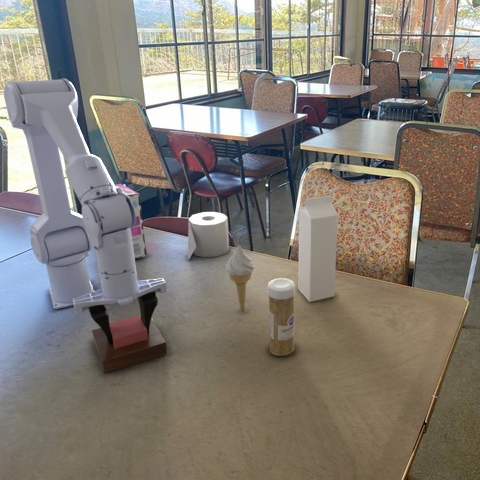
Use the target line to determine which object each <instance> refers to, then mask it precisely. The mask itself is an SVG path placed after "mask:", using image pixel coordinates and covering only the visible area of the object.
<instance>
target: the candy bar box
mask: <svg viewBox="0 0 480 480" xmlns="http://www.w3.org/2000/svg"><path fill="white" fill-rule="evenodd" d="M114 185H115V187H117V188H118V187H119V188H121V190H122V191H123V192H124V193H126V194H127V195H128V196H129V198H130V200H131V202H132V204H133V206H134V209H135V214H136V223H135V225H134V226H133V227H130V228H129V229H131V236H132V243H133V250H134V257H135V261H136V260H140V259H143V258H146V257H148V254H147V247H146V239H145V229H144V222H143V212H142V204H141V196H140V193H139V192H137V191H134V190H132V189H131V188H129V187H127V186H126V185H124V184H122V183H117V184H116V183H115V184H114Z"/></svg>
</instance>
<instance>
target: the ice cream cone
mask: <svg viewBox="0 0 480 480" xmlns="http://www.w3.org/2000/svg"><path fill="white" fill-rule="evenodd" d="M252 262H253V260H252V259H251V258H250V257H249V256H248V255H247V253H246V252H245V251H244V250H243V247H242V246H241V245H240V244H238V246H237V248H236V250H235V251H234V252H233V254H232V255H231V256H230V258H229V260H228V261H226V264H225V266H224V267H225V269H226V273H227V274H228V276H229V279H230V281H232V282H233V283H234V284H235V287H236V294H237V299H238V303H239V309H240V312H241V313H244V312H245V304H246V292H247V283H248V281H250V280H251V278H252V274H253V272H254V270H255V264H254V263H252Z"/></svg>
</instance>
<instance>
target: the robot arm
mask: <svg viewBox="0 0 480 480" xmlns="http://www.w3.org/2000/svg"><path fill="white" fill-rule="evenodd" d="M3 89H4V90H3V98H4V103H5V107H6V111H7V115H8V119H9V122H10V124H11V127H12V128H14V129H19V130H21V131H22V132H23V134H24V135H25V136H24V137H25V139H26V144H27V148H28V152H29V157H30V161H31V165H32V171H33V176H34V180H35V184H36V187H37V192H38V197H39V202H40V206H41V211H42V213H41V214H40V215H39V217H37V218H36V219H35V220H34V221H33V222H32V223H31V224H30V226H29V232H30V245H31V249H32V252H33V255H34V256H35V258H36V260H37V261H38V262H39V263H41V264H43V265H45V266H46V271H47V275H48V280H49V284H50V287H48V291H49V294H50V298H51V303H52V307H53V309H54V310H59V309H63V308H68V307H71V306H73V308H74V312H75V314H76V315H79V314H83V313H84V311H86V310H87V311H88V312H89V314H90V317H91V318H92V320H93V321H94V322H95V323H96V324H97V325H98V327H99V328H101V329H102V330H103V332H104V333H105V335H106V337H107V340H108V343H109V344H113V338H112V334H111V330H110V324H109V323H110V315H109V314H108V311H107V307H106V306H108V305H115V304H119V306H125V305H130V304H132V303H133V302H134V300H135V299H137V301H138V306H139V311H140V317H141V320H142V322H143V324H144V325H145V327H146V329H147V334H149V328H150V322H151V318H152V319H153V314H154V312H155V310H156V308H157V307H158V304H159V303H158V302H159V300H158V299H159V298H158V296H157V294H158V293H160V294H164V293H167V292H168V290H167V288H168V287H167V282H166V280H165V279H164V278H163V277H160V278H155V279H154V278H153V279H143V280H139V279H138V272H137V265H136V260H135V257H134V250H133V243H132V236H131V229H129V228H130V227H133V226H134V225H135V223H136V214H135V209H134V206H133V204H132V202H131V200H130V198H129V196H128V195H127V194H126V193H124V192H123V191H122V190H121V188H119V187H118V188H117V187H115V185H116V184H115V183H114V181H113V179H112V178H111V176H110V174H109V172H108V170H107V168H106V166H105V165H104V162H103V161H102V159H101V158H100V157H98V156H96V155H94V154H91V152H90V150H89V147H88V145H87V143H86V141H85V137H84V135H83V133H82V131H81V128H80V126H79V123H78V121H77V119H78V115H79V114H78V113H79V97H78V93H77V91H76V88H75V87H74V85H73V83H72V82H71V81H70V80H69V79H68V78H60V79H44V80H23V81H19V80H17V81H14V80H8V81H7V82H6V83H5V85H4V86H3ZM60 153H61V154H62V156H63V157H64V159H65V161H66V162H67V165H66V166H65V169H64V168H63V165H62V161H61V154H60ZM63 169H64V170H63ZM64 173H65V176H66V178H67V179H68V182H69V183H70V185H71V187H72V189H73V191H74V193H75V195H76V197H77V199H78V201H79V203H80V205H81V214H80V213H77V212H75V211H72V210H71V205H70V199H69V195H68V189H67V185H66V180H65V176H64ZM92 247H93V249H94V255H95V259H96V260H95V261H96V266H97V272H98V277H99V282H100V288H99V289H96V290H94V287H93V284H92V282H91V279H90V274H89V268H88V263H87V257H89V252H90V251H92Z"/></svg>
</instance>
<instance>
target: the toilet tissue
mask: <svg viewBox="0 0 480 480" xmlns="http://www.w3.org/2000/svg"><path fill="white" fill-rule="evenodd" d="M228 217H229V216H227V215H226V214H224V213H223V212H216V211H202V212H198V213H195V214H192V215H191V216H190V217H189V218H188V226H187V227H188V229H187V230H188V231H187V259H188V261H189V260H190V259H191V257H192V255H194V256H198V257H202V258H213V257H219V256H222V255H224V254H227V252H228V251H229V249H230V238H229V237H230V236H229V220H228V219H229V218H228Z"/></svg>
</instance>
